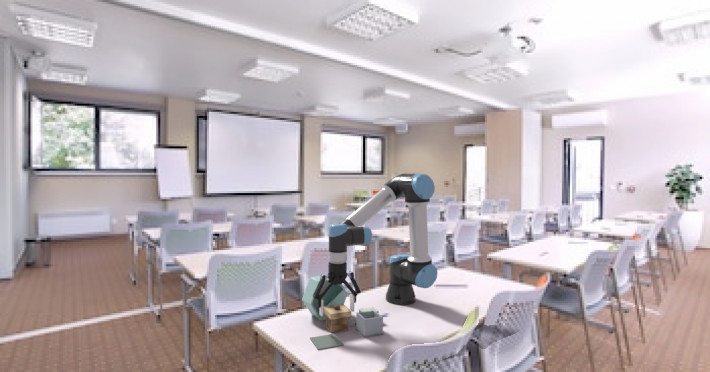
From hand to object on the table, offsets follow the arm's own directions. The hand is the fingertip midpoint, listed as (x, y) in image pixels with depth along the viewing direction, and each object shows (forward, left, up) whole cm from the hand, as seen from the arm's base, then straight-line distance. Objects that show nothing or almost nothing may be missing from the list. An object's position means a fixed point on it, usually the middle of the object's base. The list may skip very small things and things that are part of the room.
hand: (336, 312), depth 151 cm
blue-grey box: (-11, +8, -7) cm, 15 cm away
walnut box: (0, 0, -7) cm, 7 cm away
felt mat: (+8, +10, -7) cm, 14 cm away
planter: (0, -15, -7) cm, 16 cm away
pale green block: (-16, -2, -7) cm, 17 cm away
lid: (0, 0, 0) cm, 0 cm away
